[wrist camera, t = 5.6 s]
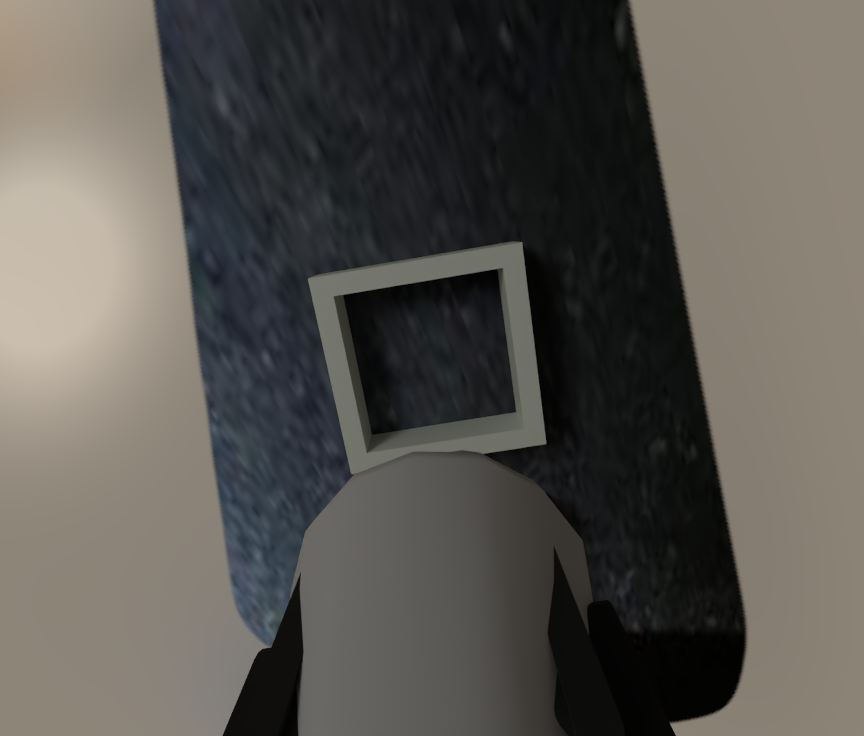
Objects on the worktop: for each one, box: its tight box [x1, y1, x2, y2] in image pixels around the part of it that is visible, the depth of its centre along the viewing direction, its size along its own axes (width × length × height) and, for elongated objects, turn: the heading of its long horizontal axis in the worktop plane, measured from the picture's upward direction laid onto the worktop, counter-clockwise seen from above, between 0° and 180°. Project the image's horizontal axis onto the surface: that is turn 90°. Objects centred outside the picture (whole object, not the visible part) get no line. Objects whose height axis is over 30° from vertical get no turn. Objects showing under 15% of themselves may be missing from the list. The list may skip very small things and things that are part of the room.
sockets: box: [308, 241, 546, 494], centre depth 29 cm, size 24×10×2 cm, turn 9°
